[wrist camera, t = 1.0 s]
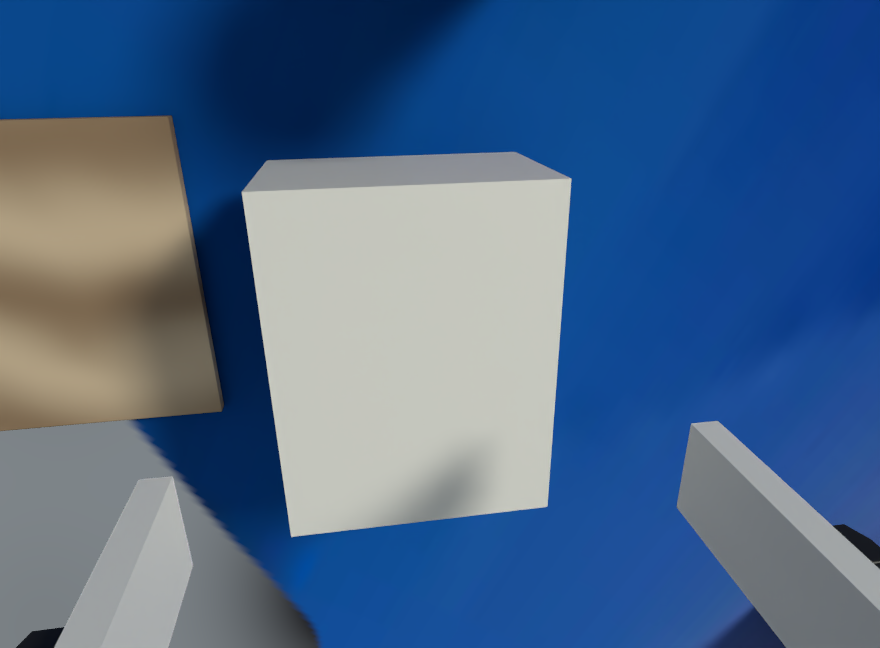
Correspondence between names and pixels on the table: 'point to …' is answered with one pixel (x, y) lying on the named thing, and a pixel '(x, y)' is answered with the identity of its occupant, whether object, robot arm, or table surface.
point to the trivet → (99, 276)
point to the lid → (409, 332)
